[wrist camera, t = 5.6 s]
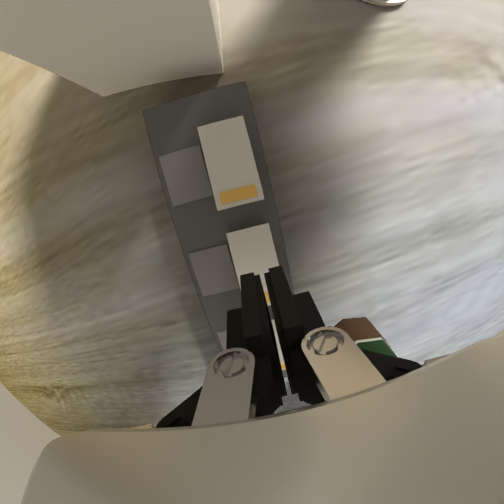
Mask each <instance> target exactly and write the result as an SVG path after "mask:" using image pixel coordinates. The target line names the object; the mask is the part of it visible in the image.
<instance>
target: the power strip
mask: <svg viewBox="0 0 504 504" xmlns="http://www.w3.org/2000/svg"><path fill="white" fill-rule="evenodd" d="M143 115H144V119H145V123H146V127H147V131H148V135H149V139H150V143H151V147H152V151H153V154H154V158H155V162H156V165H157V169H158V172H159V176H160V179H161V183H162V186H163V190H164V193H165V197H166V200H167V203H168V206H169V210H170V213H171V216H172V219H173V222H174V226H175V229H176V232H177V235H178V238H179V241H180V244H181V247H182V250H183V253H184V256H185V259H186V262H187V265H188V268H189V270H190V273H191V276H192V279H193V282H194V285H195V287H196V290H197V293H198V296H199V298H200V301H201V304H202V306H203V309H204V312H205V314H206V317H207V319H208V322H209V325H210V327H211V330H212V332H213V335H214V337H215V340H216V342H217V345H218V347H219V350H220V352H222V351H225V350H226V338H227V311H228V310H232V309H237V308H241V307H242V304H241V290H240V286H239V282H238V278H237V274H236V270H235V267H234V263H233V259H232V255H231V251H230V247H229V243H228V239H227V235H226V233H230V232H234V231H238V230H242V229H246V228H250V227H254V226H258V225H262V224H266V223H269V227H270V231H271V235H272V239H273V243H274V247H275V251H276V255H277V259H278V263H279V266H281V265H282V268H283V271H284V273H285V276H286V279H287V281H288V284H289V287H290V289H291V292H292V295H294V292H293V287H292V282H291V277H290V272H289V267H288V262H287V257H286V253H285V248H284V243H283V238H282V234H281V229H280V224H279V220H278V215H277V211H276V206H275V202H274V197H273V193H272V189H271V184H270V180H269V176H268V171H267V167H266V163H265V159H264V154H263V150H262V146H261V142H260V138H259V134H258V130H257V126H256V122H255V118H254V114H253V110H252V106H251V102H250V98H249V95H248V91H247V87H246V83H245V81H244V82H239V83H235V84H230V85H226V86H222V87H218V88H214V89H210V90H206V91H202V92H199V93H195V94H192V95H188V96H185V97H182V98H179V99H175V100H172V101H169V102H166V103H163V104H160V105H157V106H155V107H152V108H149V109H146V110H143ZM239 116H243V118H244V122H245V126H246V129H247V133H248V137H249V140H250V144H251V148H252V152H253V156H254V160H255V163H256V167H257V171H258V175H259V179H260V183H261V187H262V191H263V195H264V200H260V201H256V202H252V203H248V204H244V205H240V206H236V207H232V208H228V209H224V210H220V211H217V207H216V203H215V199H214V195H213V191H212V187H211V183H210V179H209V175H208V171H207V166H206V162H205V158H204V154H203V150H202V146H201V141H200V137H199V133H198V129H197V127H200V126H203V125H207V124H211V123H215V122H218V121H222V120H226V119H230V118H234V117H239ZM268 310H269V313H270V317H271V320H273V319H274V317H273V313H272V308H271V305H269V306H268ZM282 372H283V377H288V376H287V372H286V370H282Z"/></svg>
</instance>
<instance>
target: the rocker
mask: <svg viewBox="0 0 504 504" xmlns="http://www.w3.org/2000/svg"><path fill="white" fill-rule="evenodd" d="M197 129H198V133H199V137H200V141H201V146H202V150H203V154H204V158H205V162H206V166H207V171H208V175H209V179H210V183H211V187H212V191H213V195H214V199H215V203H216V207H217V211H220V210H224V209H228V208H232V207H236V206H240V205H244V204H248V203H252V202H256V201H260V200H264V195H263V191H262V187H261V183H260V179H259V175H258V171H257V167H256V163H255V160H254V156H253V152H252V148H251V144H250V140H249V137H248V133H247V129H246V126H245V122H244V118H243V116H239V117H234V118H230V119H226V120H222V121H218V122H215V123H211V124H207V125H203V126H200V127H197Z"/></svg>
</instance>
